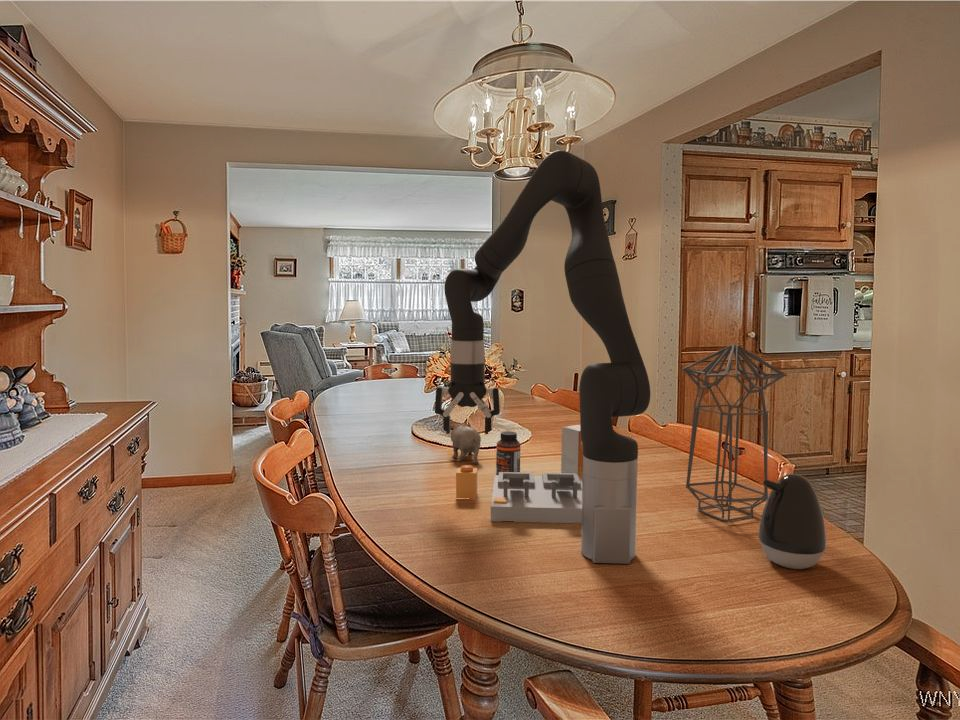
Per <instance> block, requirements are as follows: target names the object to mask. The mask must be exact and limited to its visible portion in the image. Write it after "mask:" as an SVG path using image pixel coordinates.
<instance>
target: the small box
mask: <svg viewBox="0 0 960 720" xmlns="http://www.w3.org/2000/svg"><path fill="white" fill-rule="evenodd" d="M560 454H561V455H560V457H561V458H560V461H561V463H560V473H577V474H578V477H581V478H582V481H583V444H582V439H581V429H580V424H575V425H574V424H573V425H569V426H568V425H567V426H561V453H560Z"/></svg>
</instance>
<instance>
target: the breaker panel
mask: <svg viewBox="0 0 960 720" xmlns="http://www.w3.org/2000/svg"><path fill="white" fill-rule="evenodd" d="M534 474H535V473H534V472H527V471H526V472H523V471H522V472H521V471H520V472H499V475H496V474H495V475H494V477H493V478H494V479H493V486H492V494H491V500H490V501H491V502H490V522H501V521H514V523H544V524H545V523H547V524H549V523H550V524H551V523H553V524H554V523H555V524H582V478H581V477H578V474H577V473H561V472H542V474H541V475H534ZM559 477H566V478H574V486H573V487H571V488H570V489H556V481H557V479H558V478H559ZM509 478H523V486H509Z"/></svg>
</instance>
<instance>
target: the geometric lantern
mask: <svg viewBox="0 0 960 720" xmlns="http://www.w3.org/2000/svg"><path fill="white" fill-rule="evenodd" d="M733 355H734V362H735V368H732V361H733ZM712 358H714V359H712ZM727 358H728V361H727ZM710 359H712V361H711V362H709V363H708V364H707V365H706V366H705V367H704V368H703V369H701V370H700V369H697V368H696V369H695V368H693V367H695V366H697V365H698V364H701V363H703V362H705V361H708V360H710ZM752 359H753V360H754V361H756V362H758V363H760V364H762V365H763V366H765V367H767V368H768V369H769V370H772V371H774V372H769V373H768V372H764V371H763V370H762V369H761V367H759V366H758V364H756V363H755V362H754V361H753V360H752ZM742 360H743V361H744V363H745V364H746V365H747V367H748V368H749V369H750V371H749V370H746V367H745V365H744V363H743V361H742ZM726 361H727V364H726V368H725V367H724V365H725V362H726ZM719 364H720V365H719ZM718 365H719V366H718ZM717 366H718V368H717ZM723 367H724V368H723ZM740 367H741V368H740ZM716 368H717V370H715V369H716ZM681 371H683V372H684V373H685V374H686V375H687V376H688V377H689V379H690V380H691V381H692V382H693V383H694V384H695V385H696V387H697V392H696V396H695V400H694V404H693V413H692V415H693V416H692V425H691V434H690V443H689V444H690V445H689V453H688V463H687V464H688V466H687V472H686V473H687V475H686V482H685V483H686V485H685V488H686V489H687V490H688V491H689V492H690V493H691V494H692V495H693V496H694V497H695V499H696V500H697V501H698V503H697V504H698V505H697V507H698V508H697V511H698V512H700V513H703V514H705V515H708V516H709V517H713V518H715V519H717V520H719V521H721V522H731V521H736V520H744V519H748V518H753V517H754V509H755V508H756V507H757V506H759V505H761V504H763V503H764V502H765V503H766V501H767V499H768V497H769V492H768V489H769V487H767V486H765V485H764V484H763V488H764V489H763V491H760V490H759V489H758V490H757V489H755V488H752V487H748V486H745V485H742V484H740V483H738V480H737V479H738V456H739V453H738V452H739V434H740V432H739V430H740V429H739V427H740V416H755V415H757V416H759V415H760V416H762V436H763V438H762V439H763V441H762V442H763V470H764V471H763V472H764V475H763V478H764V480H765V479H767V480H768V457H769V456H768V455H769V453H768V451H769V449H768V447H769V446H768V445H769V443H768V442H769V413H770V411H768V410H767V407H766V406H767V405H766V401H765V394H764V390H766V389H767V388H768V387H770V386H772V385H773V384H775V383H776V382H778V381H779V380H781V379H783V378H784V377H788V374H787V373H785V372H784V371H781V370H780V369H779V368H776V367H775V366H773V365H772V364H771V363H768V362H767V361H765V360H764V359H763V358H761V357H759V356H758V355H756V354H754V353H752V352H750V351H749V350H747V349H745V348H744V347H742V346H741V345H736V344H730V345H728V346H726V347H724V348H722V349H720V350H718V351H716V352H714V353H712V354H710V355H707V356H705V357H704V358H701V359H700V360H698V361H695V362H693V363H691V364H688V365H687V366H684V367H683V368H682V369H681ZM731 371H735V373H734V374H732V375H731V374H730V372H731ZM722 372H724V373H722ZM738 372H739V373H738ZM760 373H761V374H760ZM701 375H704V379H702V378H701V377H700V376H701ZM749 375H752V376H749ZM726 377H729V378H735V380H736V381H737V382H738V383H739V384H740V385H741V387H742V388H743V390H745V391H743V393H742V394H741V395H740V397H739V398H738V399H737V400H736V401H735V403H733V404H731V403H729V401H728V399H727V398H726V396H725V395H724V393H723V392H722V391H721V389H720V387H719V384H721V382H722V381H724V379H725V378H726ZM739 377H740V378H744V380H746V382H748V387H747V386H746V384H745V383H744V382H743V381H742V380H741V379H740V378H739ZM708 378H715V381H713V382H708V381H709V380H708ZM771 379H772V380H771ZM753 380H755V384H754V383H753V382H752V381H753ZM759 380H760V381H761V382H760V384H761V385H760V386H759V385H758V383H759ZM768 380H770V381H768ZM764 381H765V382H764ZM700 382H702V383H703V386H702V385H701V383H700ZM713 387H716V388H717V390H718V391H719V393H720V394H721V396H722V397H723V399H724V400H725V402H726V403H727V404H720V403H719V401H718V399H717V397H716V395H715V394H714V391H713V390H712V388H713ZM700 390H701V392H700ZM706 390H708V391H709V392H710V394H711V397H712V398H713V400H714V402H715V404H709V405H707V404H705V405H704V404H703V405H701V403H702V401H703V400H702V399H703V396H704V393H705V391H706ZM699 393H700V396H699ZM754 393H759V395H760V401H761V406H762V407H761V408H762V409H758V408H752V407H749V406H748V407H747V406H742V405H743V403H744V402H745V401H746V399H747V398H748V397H749V395H750V394H754ZM698 397H699V399H698ZM740 400H741V401H740ZM697 401H698V402H697ZM739 401H740V402H739ZM696 404H697V405H696ZM737 404H738V405H737ZM716 407H717V408H718V409H719V411H717V410H712V409H708V408H716ZM723 407H728V409H727V412H725V411H724V410H723ZM734 408H735V409H736V412H735V413H734V412H733V413H732V412H731V411H733V409H734ZM740 409H745V410H749V411H750V410H751V411H756V412H741V413H740ZM700 410H701V411H706V412H709V413H715V414H719V415H720V417H719V429H718V441H717V455H716V456H717V457H716V466H715V467H716V468H715V480H713V481H704V482H702V481H701V482H693V483H691V482H690V481H691V474H692V467H693V460H694V453H695V445H696V438H697V429H698V423H699V415H700ZM723 416H727V418H726V428H725V438H724V446H723V448H724V449H723V459H722V468H721V474H720V465H721V464H720V462H721V450H722V447H721V446H722V437H723V435H722V434H723V433H722V432H723V422H724V421H723V420H724V417H723ZM733 416H736V418H735V419H736V421H735V447H734V451H735V452H734V470H733ZM727 451H728V480H725V479H724V478H725V471H726V460H727ZM733 471H734V473H733ZM733 474H734V476H733ZM719 475H721V476H720V480H719ZM732 477H734V478H732ZM764 480H763V481H764ZM732 481H733V482H732ZM719 484H720V485H721V495H718V490H719ZM724 484H726V485H728V494H727V495H725V491H724ZM704 485H705V486H706V485H714V496H711V495H709V494H707V493H704V492H702V491H700V490H698V489H696V488H693V486H694V487H695V486H704ZM735 487H739V488H742V489H744V490H747V491H751V492H753V493H756V494H759V495H762V496H761V497H759V496H758V497H745V498H743V497H742V498H734V497H732V496H733V495H732V492H733V490H734V489H735ZM697 494H699V495H700V496H703V497H702V498H700V497H699V495H697ZM706 500H712V501H714V502H716V503H717V504H713V503H710V502H708V501H706ZM750 501H752V502H753V503H749V502H750ZM724 502H725V503H724ZM736 502H737V503H738V502H739V503H740V504H745V505H747V506H741V507H736V506H734V505H732V503H736ZM701 503H703V504H706V506H701ZM723 506H726V507H727V508H724V507H723ZM710 508H716V509H718V510H720V511H721V517H719V516H717V515H714V514H711V513H709V512H707V511H705V510H702V509H710ZM747 509H750V510H749V511H750V512H749V511H747ZM731 511H740V512H743V513H745V514H748V515H744V516H739V517H733V518H731ZM725 512H727V518H725Z"/></svg>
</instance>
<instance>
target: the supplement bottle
mask: <svg viewBox="0 0 960 720" xmlns="http://www.w3.org/2000/svg"><path fill="white" fill-rule="evenodd" d="M517 435H518V433H517V432H515V431H511V430H510V431H501V432H500V439H499V440H498V441H497V442H496V451H495V452H496V456H495V457H496V458H495V459H496V460H495V461H496V462H495V463H496V465H495V466H496V468H495V473H496V474H495V475H499V472H521V442H520V441H519V440H518V436H517Z"/></svg>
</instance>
